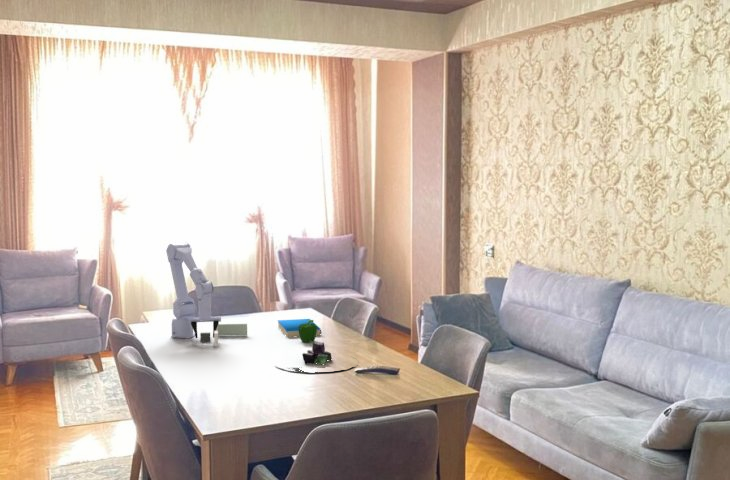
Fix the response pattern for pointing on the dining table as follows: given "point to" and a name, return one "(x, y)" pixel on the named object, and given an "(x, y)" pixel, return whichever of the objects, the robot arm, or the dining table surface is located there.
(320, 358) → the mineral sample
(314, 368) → the dining table surface
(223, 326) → the door
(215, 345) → the rectangular block
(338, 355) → the dining table surface
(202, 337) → the grey stepped block
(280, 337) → the dining table surface
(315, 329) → the bell pepper
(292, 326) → the book
